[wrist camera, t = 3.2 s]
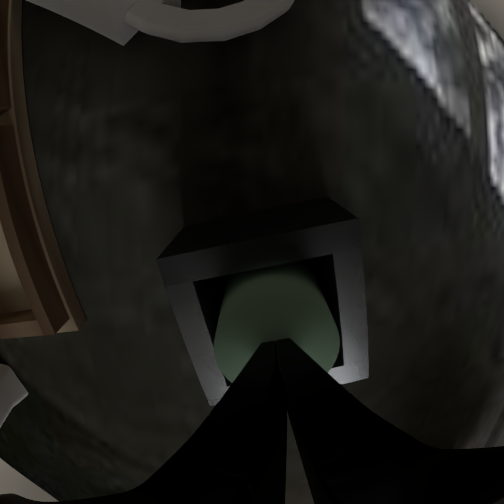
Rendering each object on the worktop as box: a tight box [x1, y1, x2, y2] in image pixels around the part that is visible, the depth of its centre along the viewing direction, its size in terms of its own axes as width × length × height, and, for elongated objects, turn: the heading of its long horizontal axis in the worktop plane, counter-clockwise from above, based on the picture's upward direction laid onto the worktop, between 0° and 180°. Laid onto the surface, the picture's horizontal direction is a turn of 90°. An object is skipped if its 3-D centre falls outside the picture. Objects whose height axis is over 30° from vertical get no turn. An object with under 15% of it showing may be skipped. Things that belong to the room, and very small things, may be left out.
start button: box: [214, 260, 340, 383], centre depth 11 cm, size 4×4×4 cm
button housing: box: [156, 197, 369, 406], centre depth 12 cm, size 6×6×4 cm
